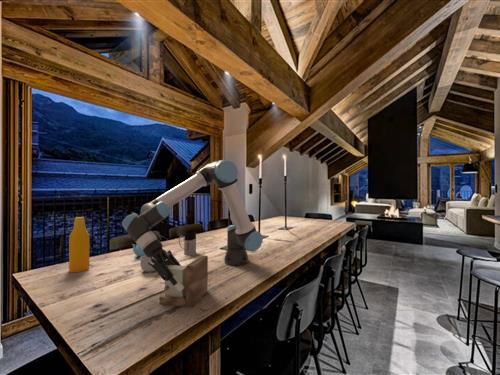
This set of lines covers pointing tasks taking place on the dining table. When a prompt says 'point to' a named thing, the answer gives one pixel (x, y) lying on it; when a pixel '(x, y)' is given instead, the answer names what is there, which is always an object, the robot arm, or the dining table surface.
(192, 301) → the wooden stand
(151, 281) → the dining table surface
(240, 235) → the robot arm
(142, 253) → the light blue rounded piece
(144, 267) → the teacup
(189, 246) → the glass holder
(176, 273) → the block
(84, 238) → the beer bottle
